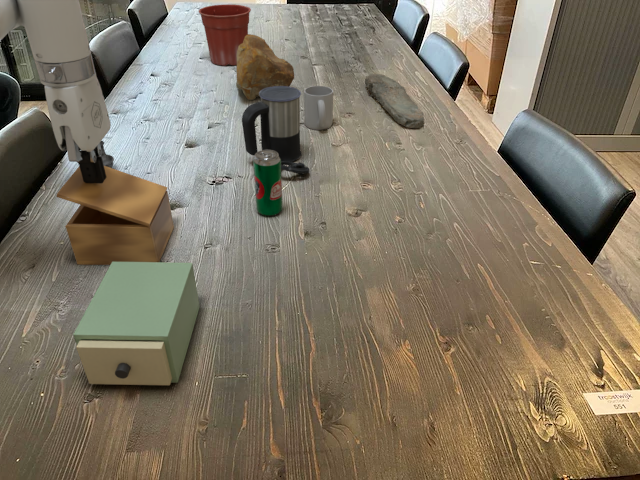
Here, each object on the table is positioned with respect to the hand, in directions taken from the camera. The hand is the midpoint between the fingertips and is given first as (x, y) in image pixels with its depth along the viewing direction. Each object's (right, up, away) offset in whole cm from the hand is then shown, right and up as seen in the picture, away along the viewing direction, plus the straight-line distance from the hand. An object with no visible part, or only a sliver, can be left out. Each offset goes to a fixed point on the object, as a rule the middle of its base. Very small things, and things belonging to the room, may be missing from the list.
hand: (95, 180), depth 88 cm
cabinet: (+12, -24, -11) cm, 29 cm away
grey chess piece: (-10, +4, +28) cm, 30 cm away
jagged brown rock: (+21, +33, +69) cm, 80 cm away
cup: (+36, +19, +50) cm, 64 cm away
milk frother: (+29, +7, +34) cm, 45 cm away
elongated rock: (+57, +28, +63) cm, 89 cm away
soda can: (+27, -4, +17) cm, 32 cm away
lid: (+3, -2, +1) cm, 4 cm away
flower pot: (+6, +50, +93) cm, 106 cm away
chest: (+3, -11, +8) cm, 13 cm away
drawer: (+12, -25, -14) cm, 31 cm away
